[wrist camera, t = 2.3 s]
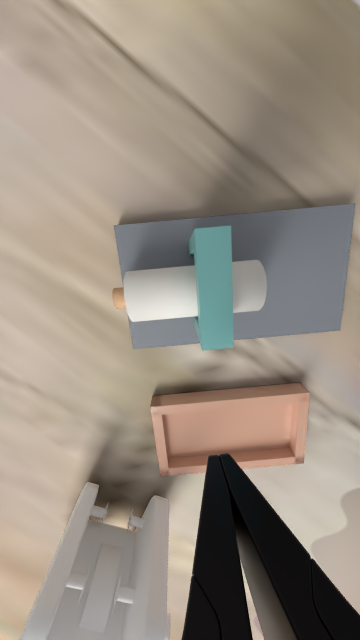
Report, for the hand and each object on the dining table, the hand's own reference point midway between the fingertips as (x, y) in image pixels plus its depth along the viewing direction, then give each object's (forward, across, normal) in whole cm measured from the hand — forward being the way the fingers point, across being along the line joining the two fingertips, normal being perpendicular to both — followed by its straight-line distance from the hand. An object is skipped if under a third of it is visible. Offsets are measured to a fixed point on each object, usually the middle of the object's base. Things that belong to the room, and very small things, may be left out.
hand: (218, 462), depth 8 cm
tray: (+12, -4, +10) cm, 16 cm away
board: (+13, -5, -6) cm, 15 cm away
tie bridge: (+12, -2, -6) cm, 13 cm away
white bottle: (+12, 0, -6) cm, 13 cm away
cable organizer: (+13, +12, +23) cm, 29 cm away
